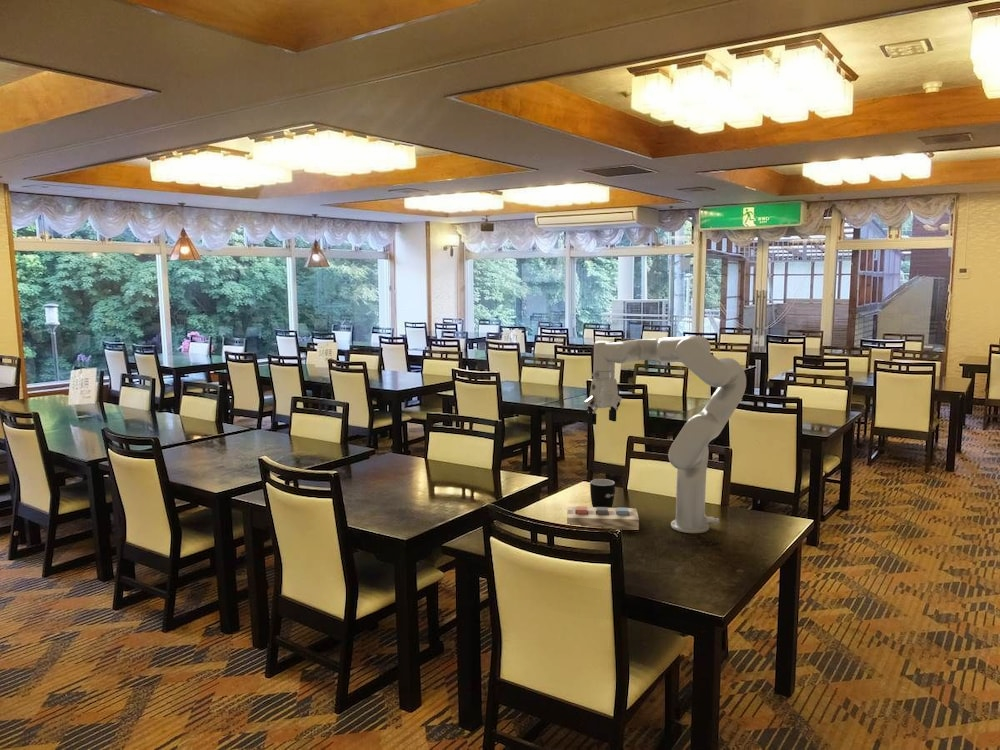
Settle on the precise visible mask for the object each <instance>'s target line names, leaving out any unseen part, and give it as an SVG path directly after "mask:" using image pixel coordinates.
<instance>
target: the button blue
mask: <svg viewBox="0 0 1000 750" xmlns="http://www.w3.org/2000/svg"><path fill="white" fill-rule="evenodd" d="M616 508H617V515H624V516H628V512H629V511H628V508H629V507H616Z"/></svg>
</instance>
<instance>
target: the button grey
mask: <svg viewBox="0 0 1000 750" xmlns="http://www.w3.org/2000/svg"><path fill="white" fill-rule="evenodd" d="M597 515H608V508H607V507H597Z"/></svg>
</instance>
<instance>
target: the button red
mask: <svg viewBox="0 0 1000 750" xmlns="http://www.w3.org/2000/svg"><path fill="white" fill-rule="evenodd" d="M576 507H577V514H587V507H588V506H581V505H580V506H578V505H577V506H576Z"/></svg>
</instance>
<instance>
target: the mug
mask: <svg viewBox="0 0 1000 750" xmlns="http://www.w3.org/2000/svg"><path fill="white" fill-rule="evenodd" d="M589 482H590V483H589V485H590V486H589V487H590V488H589V489H590V490H589V491H590V501H591V505H592V506H591V507H607V508H613V505H614V500H615V495H616V483H615V481H614V480H611V479H607V478H594V479H592V480H591V481H589Z"/></svg>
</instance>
